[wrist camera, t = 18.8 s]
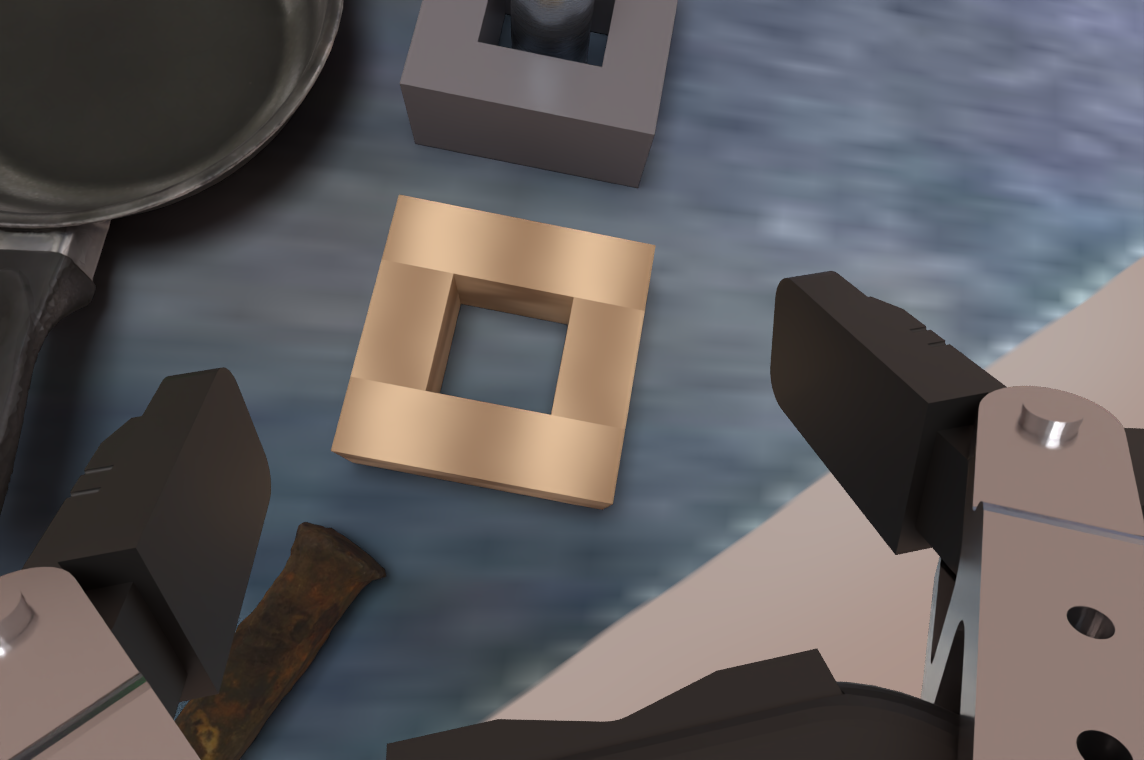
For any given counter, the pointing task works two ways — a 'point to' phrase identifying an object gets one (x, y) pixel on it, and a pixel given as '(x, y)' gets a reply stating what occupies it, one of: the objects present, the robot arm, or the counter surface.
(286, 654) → the hand tool
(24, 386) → the frying pan
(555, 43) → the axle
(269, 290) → the counter surface
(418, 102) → the holder block
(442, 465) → the square frame block
